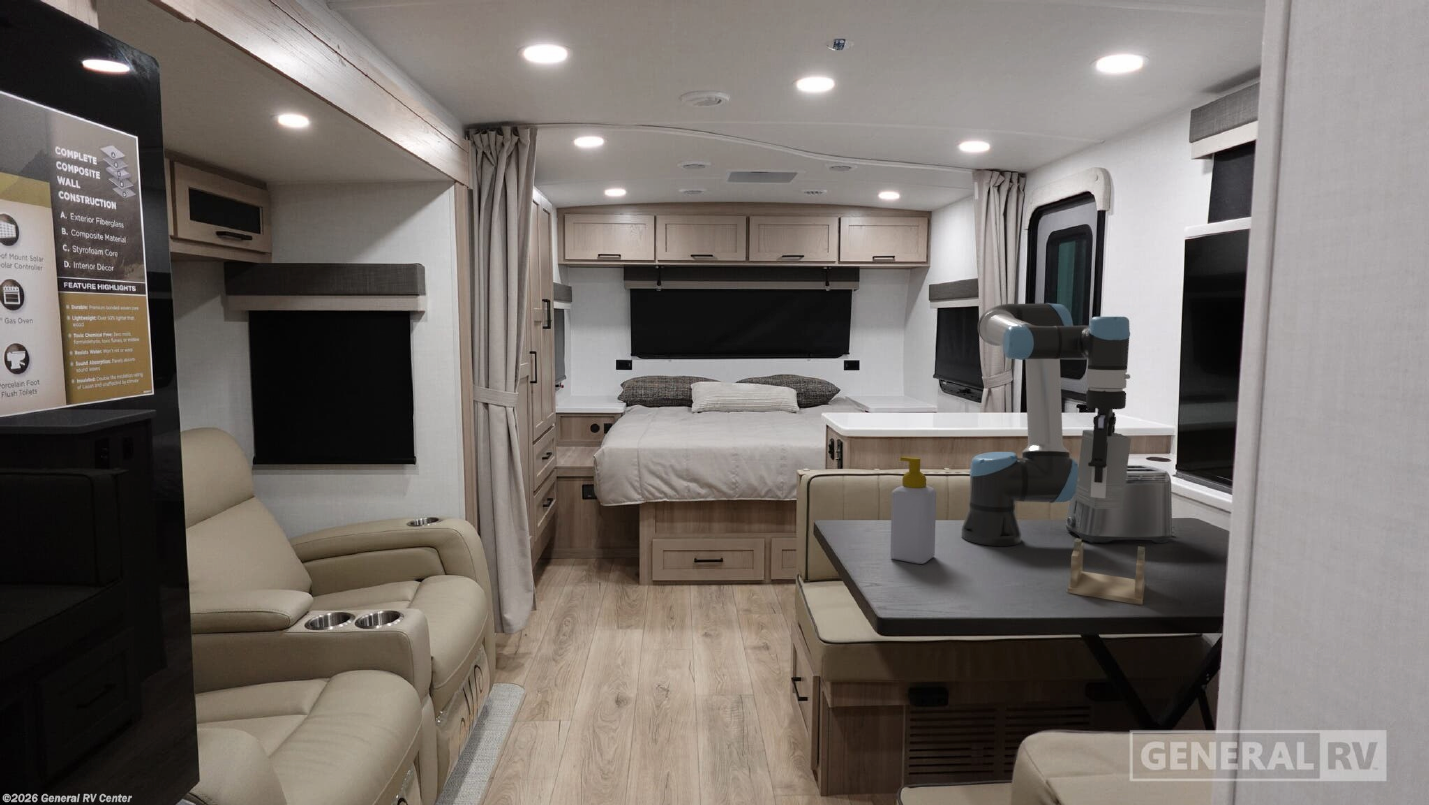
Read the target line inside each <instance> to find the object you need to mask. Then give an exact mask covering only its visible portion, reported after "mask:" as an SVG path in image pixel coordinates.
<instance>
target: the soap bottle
mask: <svg viewBox="0 0 1429 805" xmlns="http://www.w3.org/2000/svg"><path fill="white" fill-rule="evenodd" d="M899 460H900V461H903V462H908V471H907V472H905V473H904V474H903V476H902V481H901V482H902V483H901V484H902V485H900V486H898V487H896V488H894V489H893V490H892V492H891V512H890V513H891V515H890V556H889V557H890V558H891V559H893V560H897V561H902V562H908V563H913V564H918V565H919V564H920V565H921V564H922V565H923V564H925V563H927V562H928V561H929V560H931V559H932V558H934V557H935V553H936V522H937V520H936V518H937V516H936V514H937V491H936V490H935V488H933V487H931V486H929V485H927V477H926V475H925V474H924V473H923V472H922V471H921V458H920V457H915V456H900V458H899Z"/></svg>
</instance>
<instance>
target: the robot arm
mask: <svg viewBox="0 0 1429 805" xmlns="http://www.w3.org/2000/svg"><path fill="white" fill-rule="evenodd" d="M1130 330H1131V328H1130V320H1129V318H1128V317H1126V316H1093V317H1092V318H1090V320H1089V325H1085V324H1083V325H1074V324H1073V318H1072V316H1071V313H1070V311H1069V309H1068V308H1067V307H1066V306H1065V305H1064V304H1060V303H1050V302H1045V303H1004V304H999V305H996V306H993V307H991V308H989V309H988V310H985V311H984V313H983V314H982V315H981V316H980V318H979V320H978V322H977V333H978V335H979V337H980V338H981V340H983V341H984V342H985V343H987V344H988V345H992V346H995V347H999V346H1000V347H1002V350H1003V353H1004V356H1005V357H1006V358H1007V359H1013V360H1019V361H1024V360H1025V379H1026V380H1025V382H1026V383H1025V384H1026V386H1025V387H1026V388H1025V389H1026V419H1027V446H1026V447H1025V448H1024V449H1023V450H1022V457H1018V455H1017V453H1015V452H1013V451H992V452H984V453H981V454H977V455H975V456H974V457H972V459H971V462H970V470H969V498H968V499H969V502H968V506H969V507H968V511H967V513H966V517H965V519H964V521H963V525H962V526H961V527H962V528H961V538H963V539H964V540H966V541H967V542H971V543H974V544H978V545H985V546H991V547H993V546H994V547H1009V546H1014V545H1015V546H1016V545H1018V544H1021V542H1022V531H1021V528H1020V525H1019V521H1018V518H1017V515H1016V502H1019V503H1020V502H1024V503H1050V504H1054V503H1067V502H1069V500H1070V499H1071V498H1072V497H1073V496H1074V494H1075V492H1076V485H1077V476H1078V468H1079V462H1077V460H1076V459H1074V458H1071V457H1070V450H1068V449H1067V448H1066V447H1065V446H1064V443H1063V442H1064V441H1063V415H1062V414H1063V413H1062V412H1063V411H1062V385H1061V381H1062V380H1061V362H1060V361H1061V360H1087V370H1086V388H1089V389H1087V391H1086V395H1085V406H1086V407H1087V408H1089V409H1097V415H1095V416H1093V420H1092V422H1093V429H1092V430H1093V434H1094V437H1093V449H1092V460H1091V462H1088V466H1092V478H1091V497H1096V498H1105V496H1106V476H1107V467H1106V465H1107V464H1106V460H1107V447H1108V442H1107V436H1112V433H1116V432H1115V431H1116V428H1115V427H1116V422H1117V416H1116V413H1115V412H1114V411H1113V410H1122V409H1125V408H1126V406H1127V403H1126V402H1127V392H1126V391H1125V390H1124V389H1126V388H1127V380H1130V379H1131V375H1130V374H1129V373H1128V365H1129V364H1128V360H1129V348H1130V336H1131V332H1130ZM1098 459H1101V460H1098Z"/></svg>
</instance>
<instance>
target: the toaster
mask: <svg viewBox="0 0 1429 805" xmlns="http://www.w3.org/2000/svg"><path fill="white" fill-rule="evenodd" d="M1075 493H1076V492H1075ZM1172 502H1173V501H1172V478H1171V476H1170V474H1169V472H1168V471H1167V470H1164V469H1161V468H1158V467H1154V466H1151V465H1146V464H1145V465H1144V464H1128V467H1127V476H1126V484H1125V493H1124V501H1123V509H1095V508H1093V507H1090V506H1088V505H1085V504H1083V503H1081V502H1078V501H1076V500H1075V494H1074V496H1073V497H1072V498H1071V499H1070V500H1069V501H1068V504H1067V505H1068V506H1067V507H1068V508H1067V513H1066V519H1065V527H1066V530H1067V532H1068V533H1074V534H1076V535H1077V536H1078V537H1079V539H1082V541H1086V542H1088V543H1091V544H1093V543H1110V542H1112V541H1122V540H1123V541H1124V540H1142V541H1143V540H1144V541H1151V542H1152V543H1156V544H1157V543H1160V544H1166V543H1167V542H1169V541H1170V540H1171V539H1172V537H1173V533H1174V531H1173V529H1174V528H1175V527H1173V508H1172Z"/></svg>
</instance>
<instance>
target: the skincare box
mask: <svg viewBox="0 0 1429 805" xmlns="http://www.w3.org/2000/svg"><path fill="white" fill-rule="evenodd" d="M1093 430H1094V429H1084V430H1082V434H1081V444H1080V450H1079V451H1080V452H1079V461H1078V476H1077V485H1076V493H1075V500H1076V501H1078V502H1081V503H1083V504H1085V505H1088V506H1090V507H1093V508H1095V509H1123V501H1124V493H1125V484H1126V476H1127V467H1128V465H1129V460H1130V459H1129V458H1130V449H1131V441H1132V438H1131V437H1129V436H1127V435H1124V434H1123V433H1117V432H1114V433H1112V436H1107V442H1108V447H1107V460H1106V464H1107V465H1106V467H1107V476H1106V496H1105V498H1096V497H1091V478H1092V466H1088V462H1091V460H1092V449H1093V437H1094V434H1093ZM1098 460H1101V459H1098Z"/></svg>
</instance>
